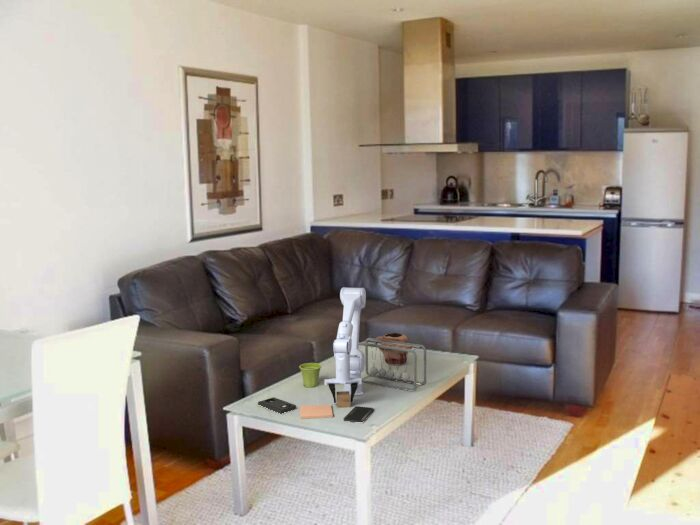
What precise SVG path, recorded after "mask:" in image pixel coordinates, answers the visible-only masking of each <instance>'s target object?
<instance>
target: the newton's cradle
mask: <svg viewBox="0 0 700 525" xmlns="http://www.w3.org/2000/svg"><path fill="white" fill-rule="evenodd" d="M376 338H377V337H375V338H374V337H367V338H366V339H365V340H363V341H359V344H358V346H363V347H364V348H365V350H364V355H365V368H364V371H365V375H366V376H365V377H362V378H361V379H362V383H364V384H369V385H374V384H375V386H379V385H380V386H381V387H385V386H387V388H391V387H393V388H392V389H397V388H399V389H398V390H402V389H407V390H406V391H408V390H414V391H416V389H417V386H418V384H416V383H420V384H424V385H425V384H426V382H427V348H426V346H425V345H424V344H420V343H419V344H417V343H412V342H411V343H405V342H398V341H391V340H383V339H376ZM369 341H370V342H373V343H368V342H369ZM375 341H376V342H378V343H377V344H375V343H374V342H375ZM382 342H384V343H391V344H392V346H389V345H388V346H385V344H384V345H381V343H382ZM379 343H380V344H379ZM393 344H398V345H400V346H401V345H405V346H412V349H406V348H399V347H393ZM368 347H369V348H375V350H377V349H379V350H380V348H384V349H387V352H388V349H391V350H395V354H396V350H398V351H403V355H404V351H405V352H408V353H407V359H409V358H408V356H409V353H411V354H412V355H413V380H410V378H411V375H410V373H409V372H408V371H407V370H408V369H407V368H408V366H407V365H405V364H406V363H405V361H404V364H403V366H405V372H403V373H402V372H401V371H400V370H399V367H400V365H397V369H396V370H395V371H394V370H393V369H391V368H392V367H391V366H392V365H389V366H388V367H389V368H388V370H386V369H385V368H384V367H383V363H380V364H381V365H380V366H381V368H380V369H378V367H376V363H373V364H372V367H371V368H369V351H368V350H369V348H368ZM413 347H414V348H413ZM419 348H421V349H423V381H421V382H420V381H417V353H416V351H415V350H417V349H419ZM371 355H372V358H374V359H376V356H377V354H375V357H373V356H374V355H373V352H371ZM353 356H356V357H358V355H353ZM379 356H380V359H382V358H381V356H383V359H382V361H384V360H385V357H384V355H381V353H379ZM399 358H400V354H399ZM391 359H392V354H391ZM388 361H389V358H388ZM396 363H397V360H396ZM371 376H372V378H377V377H378V378H377V379H383V378H384V379H385V380H388V379H390V380H391V381H394V380H397V381H396V382H400V381H403V382H402V383H406V382H411V383H410V384H412V383H414V384H413V387H411V388H410V387H407V386H402V385H401V386H400V385H393V384H388V383H383V382H382V383H381V382H377V381H371V380H367V379H366V378H368V377H371ZM390 380H389V381H390ZM418 387H419V386H418Z"/></svg>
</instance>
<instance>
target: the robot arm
mask: <svg viewBox="0 0 700 525" xmlns="http://www.w3.org/2000/svg"><path fill="white" fill-rule="evenodd" d="M339 298H340V301H341V305H343V309H342V310H343V311H342V321H340V322H339V324H338V329H337V334H336V339H334V340H333V343H332V346H333V347H332V348H333V355H334V356H333V357H334V358H335V360H334V362H335V363H334V364H335V377H334V378H333V377H332V378H328V379H327V378H326V379H325V378H324V386H328V388H329V391H330V393H331V396H332V399H333V403H334V404H337V396H336V385H343V387H342V388H341V389H342V391H349V393H350V403H354V402H353V401H354V397H355V396H363V395H364V392H363V389H362V379H363V378H362V373H363V372H364V371H365V352H363V351H362V350H361V349H360V347H359V345H358V344H359V342H360V340H359V339H360V324H361V312H362V309H364V308H366V300H367V293H366V289H365V288H364V287H346V286H345V287H344V286H343V287H342V288H341V289H340V292H339ZM354 355H357V357H356V356H354Z"/></svg>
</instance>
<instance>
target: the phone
mask: <svg viewBox="0 0 700 525" xmlns="http://www.w3.org/2000/svg"><path fill="white" fill-rule="evenodd" d="M374 411H375V408H373V407H370V406H369V407H368V406H367V407H366V406H360V405H359V406H358V405H357V406H354V407H353V408H352V410H350V411H349V413H348V412H347V414H346V415H345V416H344V417H343V421H344V422H346V421H350V422H349V423H355V422H363V421H364V420H365V419H366V418H367V417H368V416H369V415H370V414H371V415H372V414H373V413H374ZM371 415H370V416H371ZM370 416H369V417H370ZM369 417H368V418H369ZM368 418H367V419H368ZM367 419H366V420H367ZM366 420H365V421H366ZM365 421H364V422H365ZM364 422H363V423H364Z"/></svg>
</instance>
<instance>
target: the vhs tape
mask: <svg viewBox="0 0 700 525" xmlns="http://www.w3.org/2000/svg"><path fill="white" fill-rule="evenodd" d="M258 405H261V406H263V407H266V408H268V409H267V410H269V409H270V410H269V411H271V410H273V411H272V412H274V411H275V412H274V413H277V412H278V413H277V414H279V413H280V414H279V415H283V414H285V413H284V412H286V413H289V412H292V411H294V410H295V411H296V410H297V405H296V404H294V403H291V402H289V401H285V400H283V399H280V398H277V397H273V396H272V397H270V398H267V399H264V400H260V401H258V402H257V406H258ZM261 406H260V407H261ZM263 407H262V408H263ZM266 408H265V409H266ZM291 410H292V411H291ZM288 411H289V412H288ZM282 413H283V414H282Z"/></svg>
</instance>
